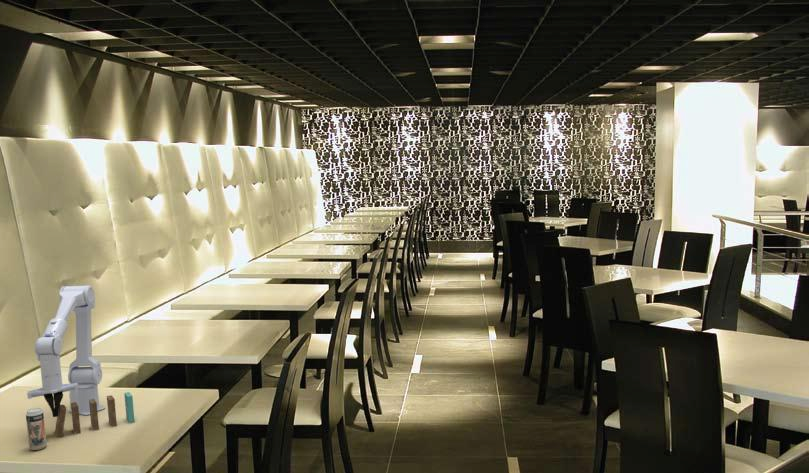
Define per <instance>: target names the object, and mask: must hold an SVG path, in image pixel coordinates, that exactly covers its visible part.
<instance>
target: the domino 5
mask: <svg viewBox="0 0 809 473" xmlns="http://www.w3.org/2000/svg"><path fill="white" fill-rule="evenodd" d="M123 394H124V406H125V415H126V417H125V418H126V420H127V422H128V423H129V424H133V423H135V411H134V409H135V408H134V399H133V398H134V397H133V395H132V393H131V392H130V391H128V392H124V393H123Z"/></svg>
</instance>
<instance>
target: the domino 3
mask: <svg viewBox="0 0 809 473" xmlns="http://www.w3.org/2000/svg"><path fill="white" fill-rule="evenodd" d="M89 406H90V414H89V416H90V417H89V418H90V426H91V428H92V430H93V431H98V430H100V423H99V416H98V412H99V411H97V402H96V401H95V399H89Z"/></svg>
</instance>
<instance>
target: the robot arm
mask: <svg viewBox="0 0 809 473" xmlns="http://www.w3.org/2000/svg"><path fill="white" fill-rule="evenodd" d="M95 296H96V295H95V290H94V288H93V287H92V286H91V285H90V284H87V285H67V286H66V285H63V286H61V288H60V290H59V292H58V300H59V306H58V308H57V312H56V314H55V318H54V317H53V318H51V319H50V320H49V322H48V324H47V326H46V329H45V330H44V332H43V334H42V336H40V337H39V338H38V339H36V341H35V343H34V352H35V354H36V356H37V360H38V362H39V365H40V374H41V376H40V377H41V385H42V387H40V388H36V389H32V390H27V391H26V393H27V394H26V395H27V399H28V400H30V399H32V398H39V397H44V400H45V401H46V403H47V405H48V406H49V408H50V410H51V413H52V417H53V418H57V416H58V411H59V406H60V405H61V403H62V400H63V398H64V393H66V392H69V395H68V396H69V403H70V404H69V405H70V408H71V403H72V402H76V403H77V405H78V409H79V415H83V416H88V415H89V416H90V406H89V399H95V401H96V402H97V412H99V411H102V410H105V409H106V407H105V406H102V405H100V400H99V389H98V387H99V386H98V385H99V384H100V383H101V382H102V378H103V370H102V366H101V362H100V361H99V360H97V359H96V358H94V356H93V355H92V354H93V351H92V350H93V349H92V348H93V346H92V343H93V342H92V337H93V336H92V309H95V308H96V307H95V306H96V305H95V304H96V301H95V300H96V297H95ZM72 313H75V345H76V346H75V353H76V354H75V355H76V358H75V359H74V360H73V361H72V362H71V363H70V364H69V367H68V368H69V369H68V373H67V381H68V383H63V378H62V369H61V358H60V357H61V356H60V354H61V353H62V350H63V345H64V344H63V343H64V336H65V334H66V332H67V330H68V327H69V325H68V323H67V321H68V319H69V318H70V316H71V314H72ZM68 412H69V413H72V412H71V409H69V410H68Z"/></svg>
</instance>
